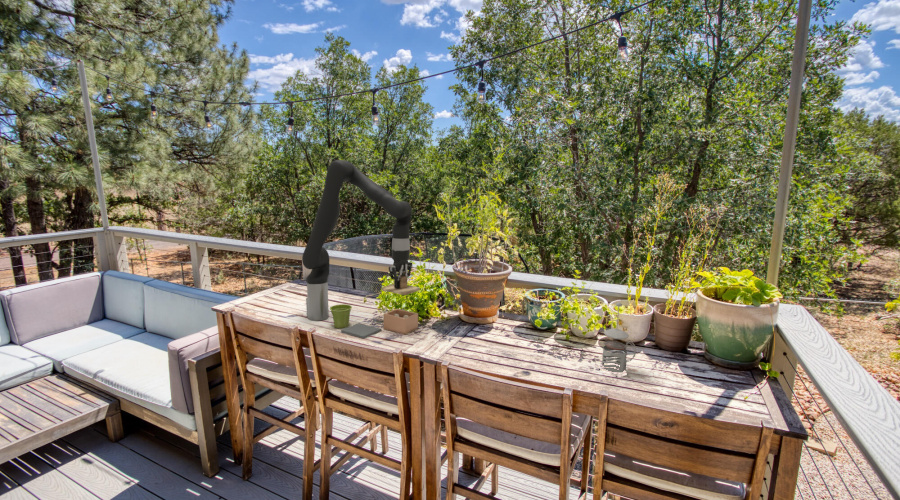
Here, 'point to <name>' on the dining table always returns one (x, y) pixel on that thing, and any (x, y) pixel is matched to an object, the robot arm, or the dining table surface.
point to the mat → (361, 330)
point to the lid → (401, 287)
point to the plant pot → (341, 315)
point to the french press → (616, 348)
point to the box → (400, 321)
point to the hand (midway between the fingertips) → (400, 287)
